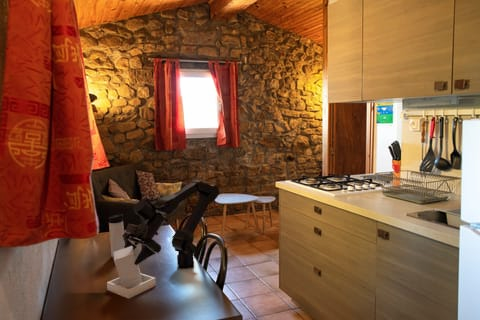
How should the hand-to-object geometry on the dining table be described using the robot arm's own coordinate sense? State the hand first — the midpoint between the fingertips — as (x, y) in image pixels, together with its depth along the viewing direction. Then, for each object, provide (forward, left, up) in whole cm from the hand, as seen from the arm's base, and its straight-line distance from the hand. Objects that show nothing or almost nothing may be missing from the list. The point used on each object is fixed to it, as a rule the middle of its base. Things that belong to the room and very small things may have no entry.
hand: (128, 261), depth 141 cm
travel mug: (+11, -36, -11) cm, 39 cm away
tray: (-1, 0, -10) cm, 10 cm away
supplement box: (-1, -1, -8) cm, 9 cm away
